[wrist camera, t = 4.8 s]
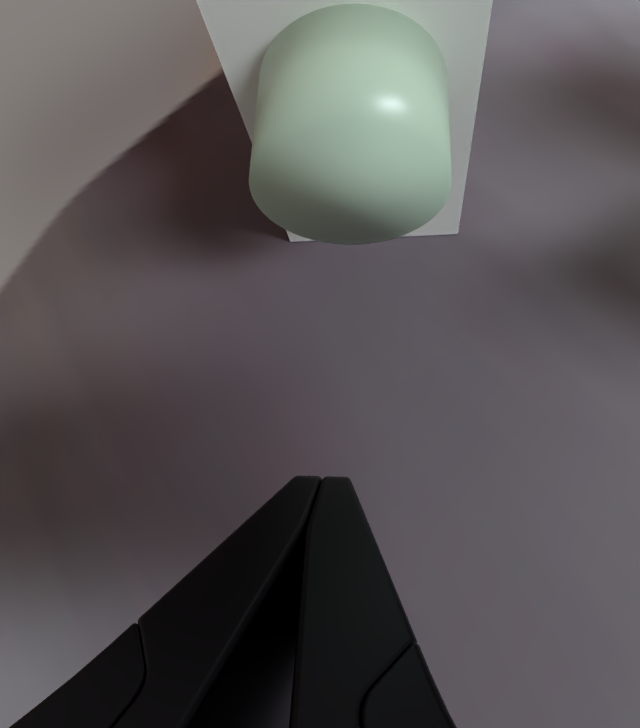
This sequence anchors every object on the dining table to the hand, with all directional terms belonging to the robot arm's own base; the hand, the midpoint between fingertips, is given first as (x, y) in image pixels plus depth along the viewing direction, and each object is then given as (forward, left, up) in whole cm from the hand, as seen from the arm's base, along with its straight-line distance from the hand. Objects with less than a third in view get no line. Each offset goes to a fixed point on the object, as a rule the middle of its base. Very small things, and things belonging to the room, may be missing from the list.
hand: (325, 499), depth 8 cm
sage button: (+7, +7, -4) cm, 11 cm away
